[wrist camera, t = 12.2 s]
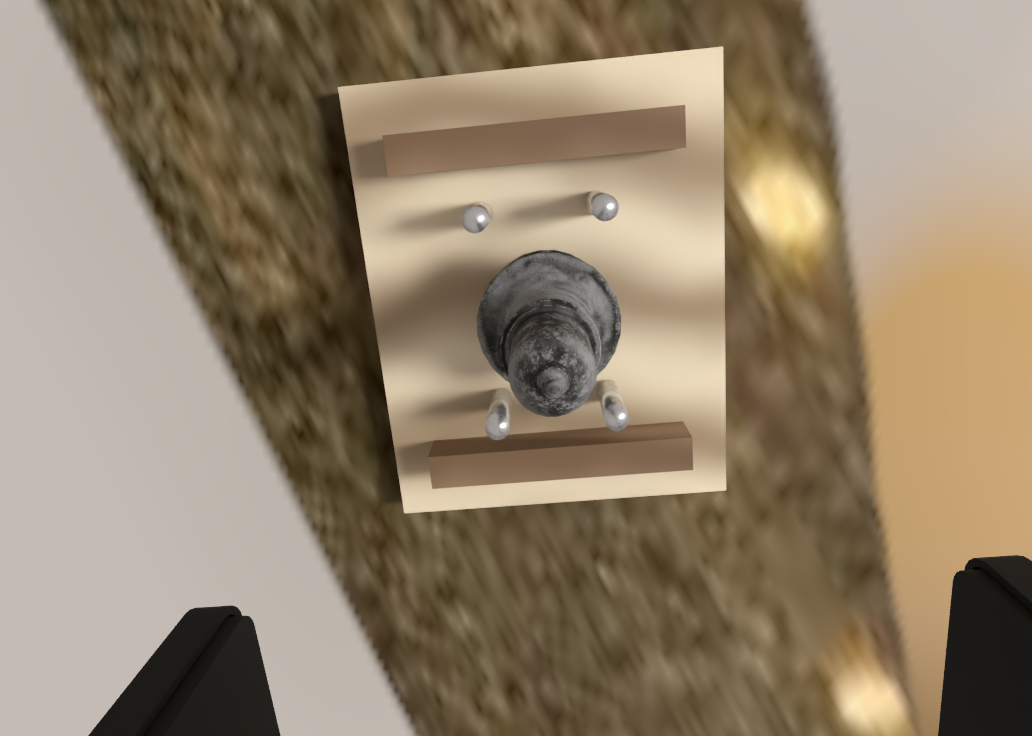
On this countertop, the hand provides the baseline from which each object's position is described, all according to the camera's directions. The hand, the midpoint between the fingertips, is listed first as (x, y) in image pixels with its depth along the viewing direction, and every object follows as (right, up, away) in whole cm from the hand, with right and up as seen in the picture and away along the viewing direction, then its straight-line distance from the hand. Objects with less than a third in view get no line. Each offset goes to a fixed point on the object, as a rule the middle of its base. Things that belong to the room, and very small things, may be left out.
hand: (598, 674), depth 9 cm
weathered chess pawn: (0, +7, +22) cm, 23 cm away
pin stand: (0, +7, +23) cm, 24 cm away
